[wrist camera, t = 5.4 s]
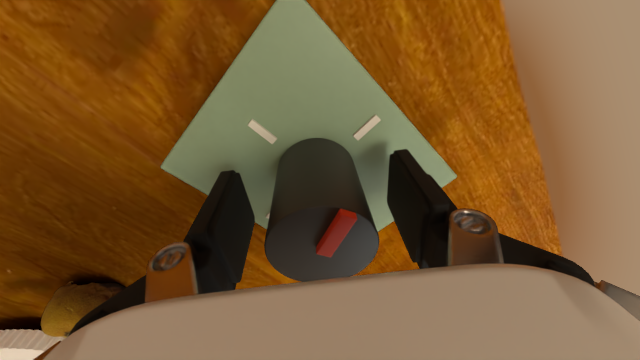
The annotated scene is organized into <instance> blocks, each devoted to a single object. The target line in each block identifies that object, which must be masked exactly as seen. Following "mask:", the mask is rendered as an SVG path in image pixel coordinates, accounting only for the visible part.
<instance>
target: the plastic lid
mask: <svg viewBox="0 0 640 360" xmlns="http://www.w3.org/2000/svg"><path fill="white" fill-rule="evenodd" d="M64 339H65V338H63V337H52V336H49V335H47V334H44V332H43V331H40V330H31V329H28V330H24V329H20V330H16V329H12V330H9V329H6V330H4V331H3V330H0V360H33V359H35V358H36V357H37V356H39V355H40V354H42V353H43V352H44V351H46V350H47V349H49V348H50V347H51V346H53V345H54V344H56V343H57V342H58V341H63V340H64Z"/></svg>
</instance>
